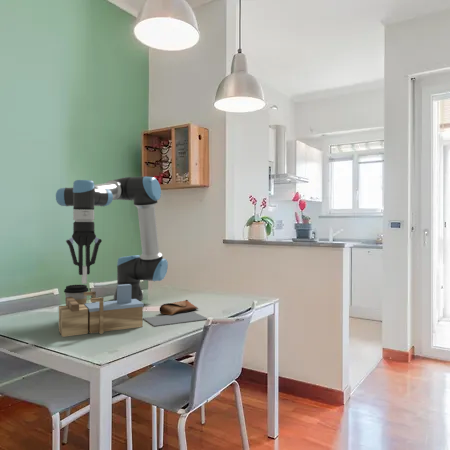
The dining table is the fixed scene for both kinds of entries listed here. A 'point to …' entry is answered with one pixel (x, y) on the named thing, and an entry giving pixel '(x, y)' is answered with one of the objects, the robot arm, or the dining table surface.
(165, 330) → the dining table surface
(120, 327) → the toolbox
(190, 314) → the mat
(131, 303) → the lid
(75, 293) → the coffee cup
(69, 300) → the key
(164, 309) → the sunglasses case
